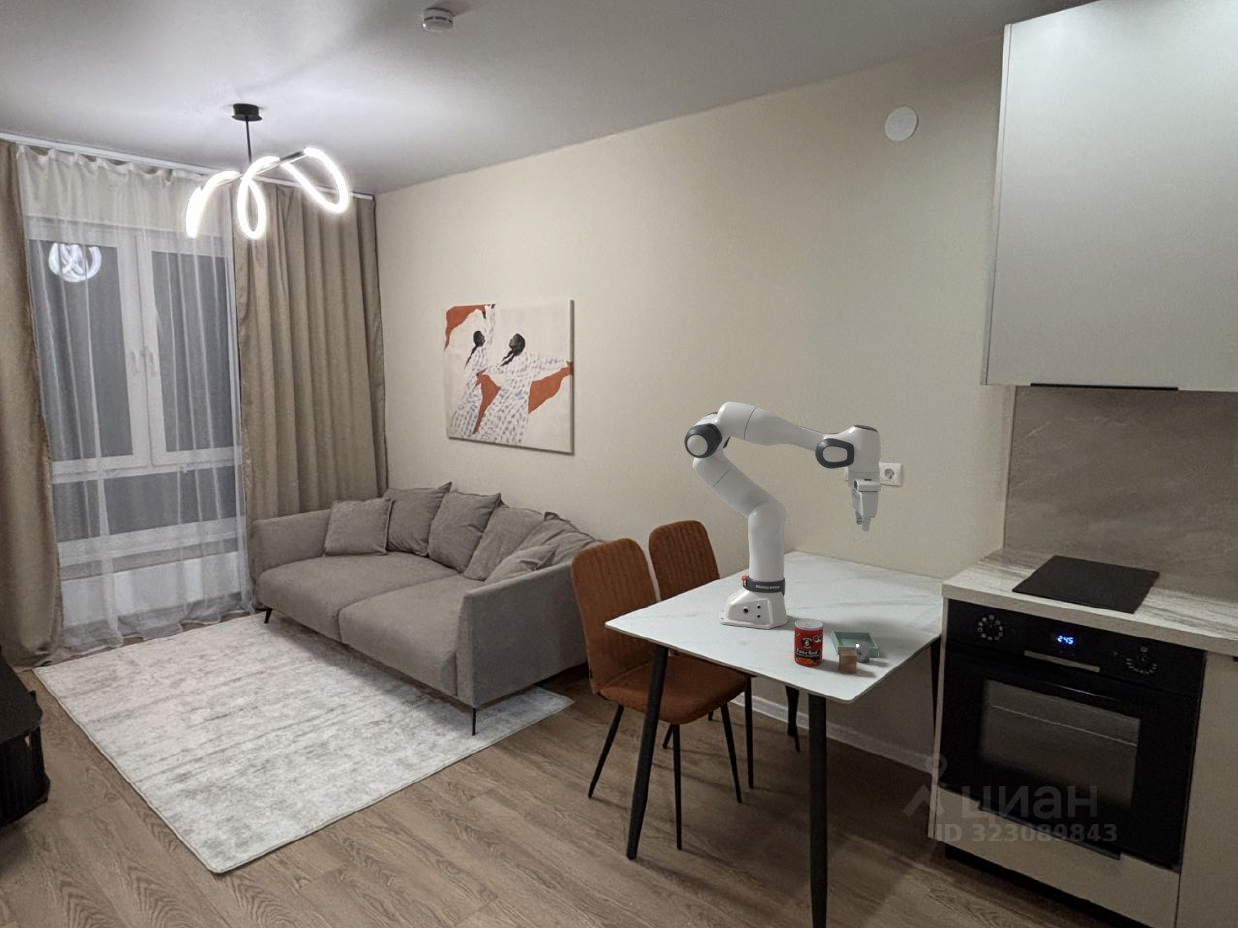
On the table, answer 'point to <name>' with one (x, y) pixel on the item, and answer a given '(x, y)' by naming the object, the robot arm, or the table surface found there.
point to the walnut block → (847, 661)
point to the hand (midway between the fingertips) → (862, 527)
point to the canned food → (808, 642)
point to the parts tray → (853, 641)
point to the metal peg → (862, 651)
